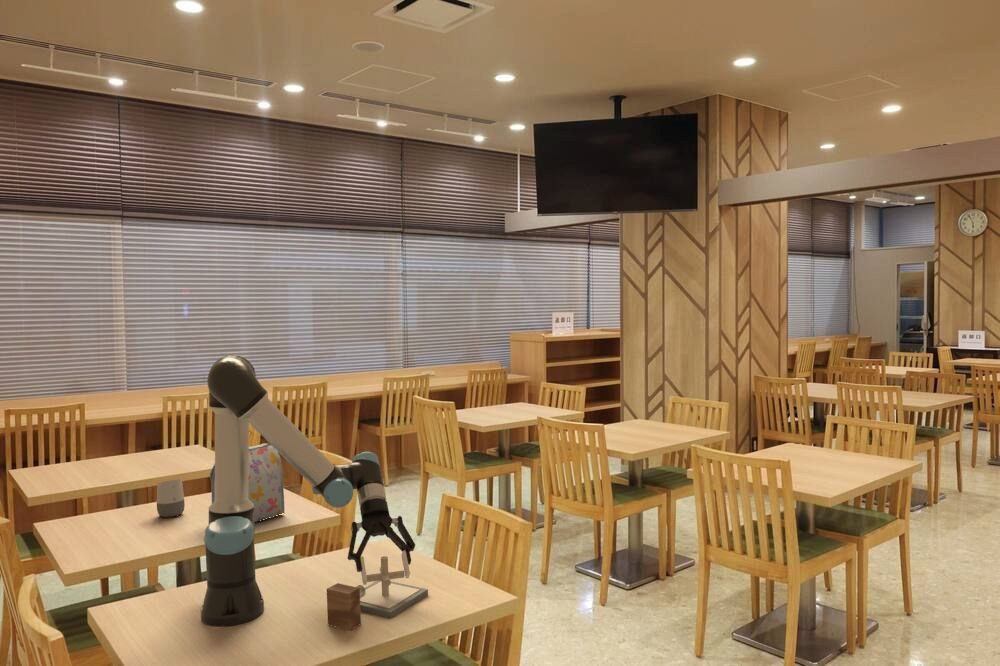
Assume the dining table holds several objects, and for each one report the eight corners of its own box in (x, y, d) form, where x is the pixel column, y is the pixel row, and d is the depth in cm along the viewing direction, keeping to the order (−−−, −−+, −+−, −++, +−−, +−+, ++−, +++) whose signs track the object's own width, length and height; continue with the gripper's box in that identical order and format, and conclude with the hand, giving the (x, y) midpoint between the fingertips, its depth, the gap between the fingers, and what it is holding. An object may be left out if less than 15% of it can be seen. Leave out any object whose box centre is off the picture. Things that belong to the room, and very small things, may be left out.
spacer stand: (364, 634, 179) (363, 597, 178) (314, 621, 187) (312, 585, 186) (428, 594, 201) (427, 561, 201) (380, 584, 209) (379, 552, 209)
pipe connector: (402, 585, 204) (400, 549, 203) (407, 599, 194) (406, 561, 194) (364, 590, 201) (363, 553, 201) (367, 605, 192) (366, 566, 191)
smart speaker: (179, 510, 288) (178, 473, 287) (188, 515, 281) (187, 477, 280) (153, 515, 281) (151, 478, 280) (162, 520, 274) (160, 482, 274)
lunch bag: (260, 508, 287) (257, 439, 286) (289, 515, 278) (286, 443, 276) (207, 524, 269) (203, 450, 268) (236, 531, 259) (232, 455, 258)
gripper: (411, 505, 216) (427, 578, 202) (330, 516, 208) (340, 592, 194) (415, 492, 210) (432, 565, 197) (332, 501, 202) (343, 579, 189)
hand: (386, 579), depth 195 cm, fingers open, 10 cm apart
